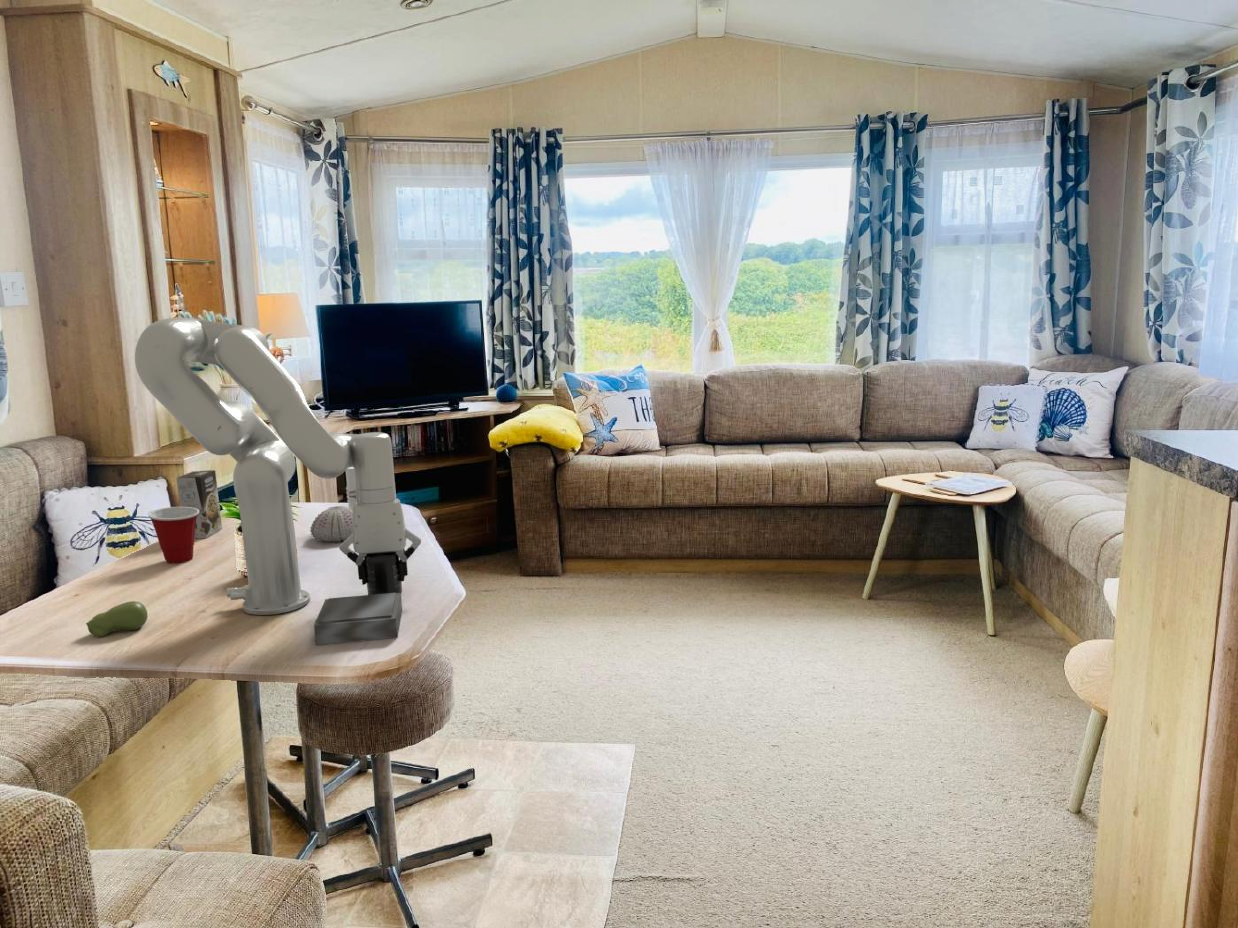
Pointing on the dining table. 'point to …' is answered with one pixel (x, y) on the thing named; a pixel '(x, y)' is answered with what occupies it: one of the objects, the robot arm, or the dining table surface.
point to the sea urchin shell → (333, 524)
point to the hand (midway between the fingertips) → (383, 580)
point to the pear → (118, 619)
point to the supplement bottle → (382, 573)
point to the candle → (350, 485)
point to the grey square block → (358, 618)
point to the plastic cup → (175, 532)
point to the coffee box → (201, 500)
